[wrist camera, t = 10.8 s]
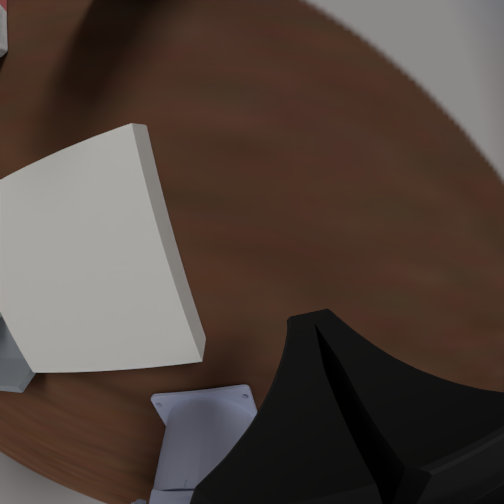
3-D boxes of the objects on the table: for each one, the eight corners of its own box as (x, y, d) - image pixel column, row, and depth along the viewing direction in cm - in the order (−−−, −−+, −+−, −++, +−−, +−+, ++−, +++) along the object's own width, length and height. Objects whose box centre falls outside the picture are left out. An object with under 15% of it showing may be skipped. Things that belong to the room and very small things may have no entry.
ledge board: (205, 338, 21) (202, 361, 18) (46, 354, 21) (33, 372, 19) (146, 125, 16) (131, 123, 14) (-18, 195, 17) (-39, 202, 14)
